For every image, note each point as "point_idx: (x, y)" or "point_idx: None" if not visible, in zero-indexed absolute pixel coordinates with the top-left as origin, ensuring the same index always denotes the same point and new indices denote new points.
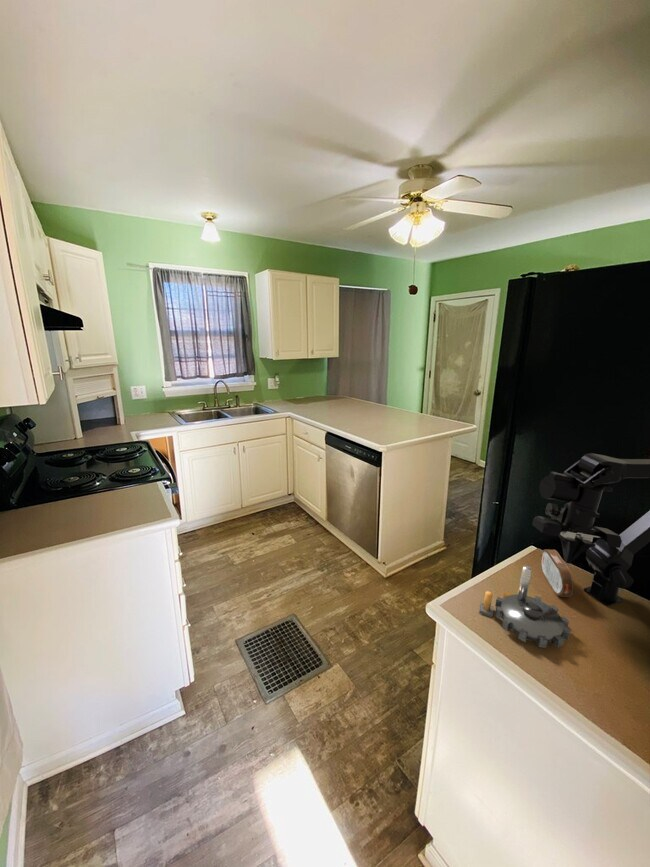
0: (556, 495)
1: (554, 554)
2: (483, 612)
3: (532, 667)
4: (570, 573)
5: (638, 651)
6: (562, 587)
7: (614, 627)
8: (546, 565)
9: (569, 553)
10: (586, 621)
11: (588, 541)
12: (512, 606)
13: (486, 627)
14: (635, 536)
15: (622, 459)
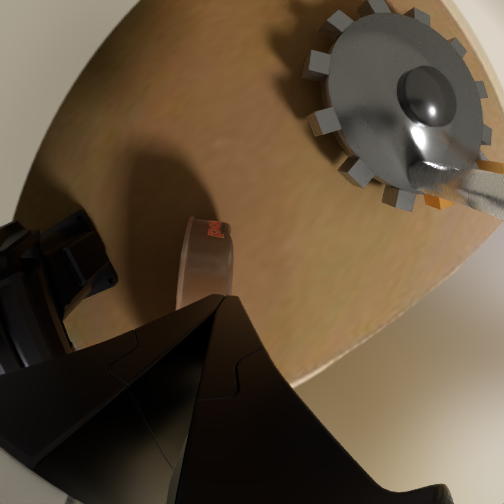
0: None
1: None
2: (484, 157)
3: (429, 5)
4: (182, 281)
5: (116, 34)
6: (229, 233)
7: (114, 112)
8: None
9: (254, 343)
10: (190, 122)
11: (6, 456)
12: (459, 137)
13: (484, 116)
14: None
15: None
